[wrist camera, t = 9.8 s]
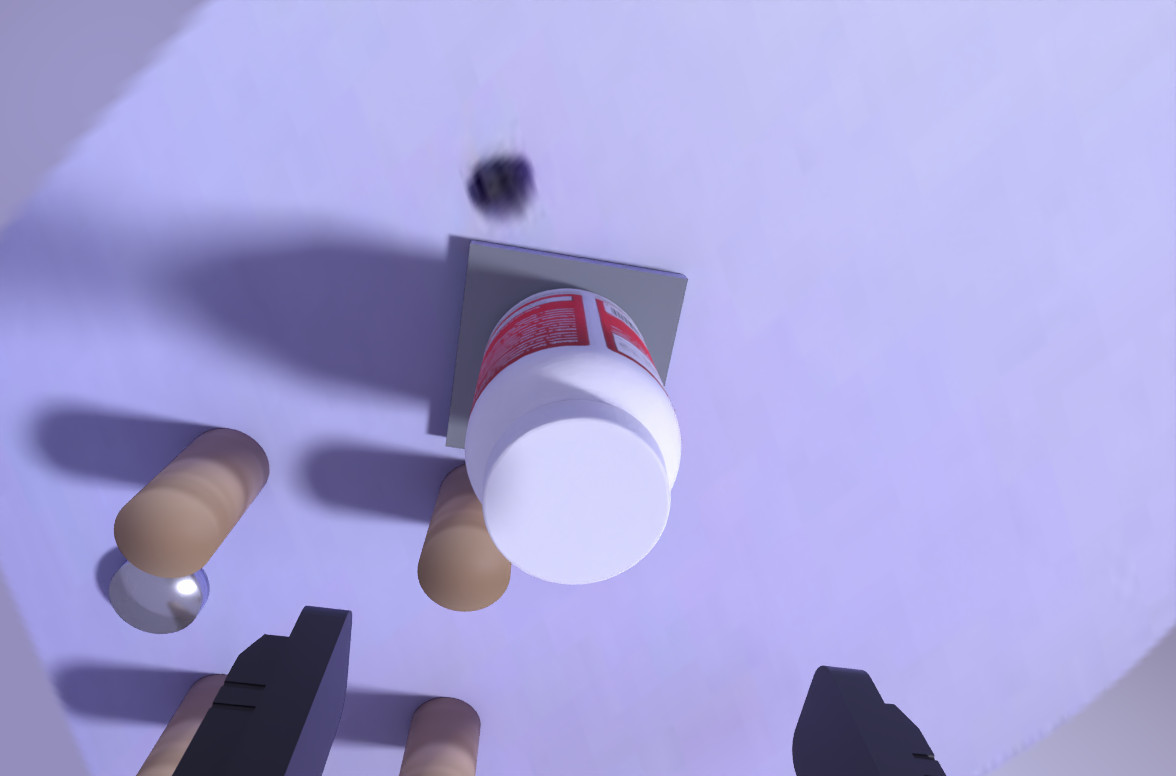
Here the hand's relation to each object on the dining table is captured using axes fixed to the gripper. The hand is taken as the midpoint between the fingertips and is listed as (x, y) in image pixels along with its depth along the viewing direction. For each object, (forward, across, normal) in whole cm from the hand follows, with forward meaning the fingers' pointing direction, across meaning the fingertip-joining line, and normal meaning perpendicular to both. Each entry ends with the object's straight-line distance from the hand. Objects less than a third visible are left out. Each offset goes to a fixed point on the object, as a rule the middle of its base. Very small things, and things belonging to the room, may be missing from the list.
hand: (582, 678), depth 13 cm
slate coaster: (+18, 0, 0) cm, 18 cm away
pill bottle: (+17, 0, 0) cm, 17 cm away
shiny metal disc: (+18, +15, +13) cm, 27 cm away
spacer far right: (+18, +2, +19) cm, 26 cm away
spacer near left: (+18, +12, +7) cm, 23 cm away
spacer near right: (+18, +2, +7) cm, 19 cm away
